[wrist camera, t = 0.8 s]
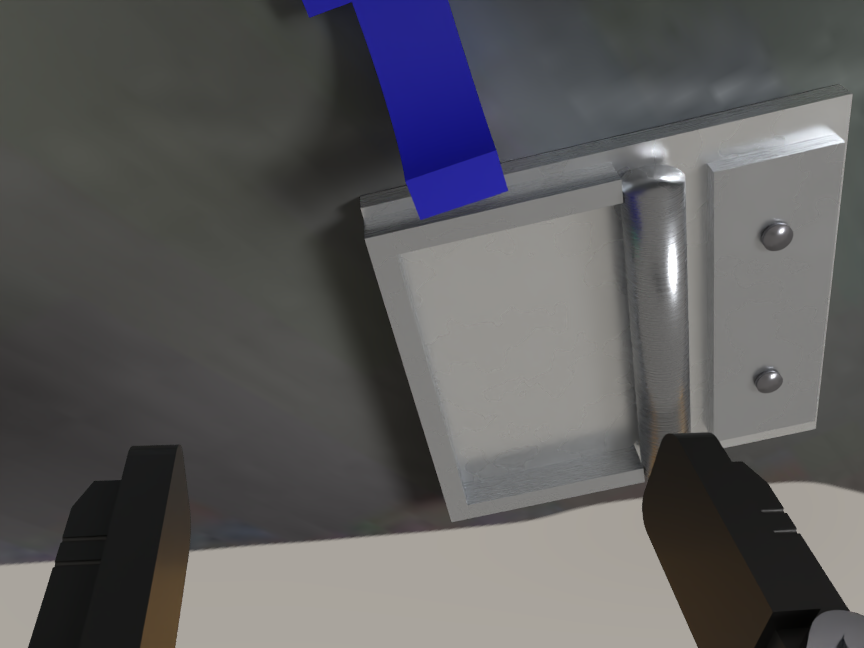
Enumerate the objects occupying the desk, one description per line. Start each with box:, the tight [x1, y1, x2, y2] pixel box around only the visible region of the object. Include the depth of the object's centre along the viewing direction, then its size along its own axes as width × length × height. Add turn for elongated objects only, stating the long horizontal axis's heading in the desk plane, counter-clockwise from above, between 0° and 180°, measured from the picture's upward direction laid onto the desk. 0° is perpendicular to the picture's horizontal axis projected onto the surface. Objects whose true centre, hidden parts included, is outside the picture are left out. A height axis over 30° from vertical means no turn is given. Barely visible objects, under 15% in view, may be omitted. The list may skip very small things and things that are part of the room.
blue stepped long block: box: [302, 0, 508, 220], centre depth 25 cm, size 12×4×6 cm, turn 18°
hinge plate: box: [360, 84, 852, 522], centre depth 35 cm, size 19×18×3 cm
